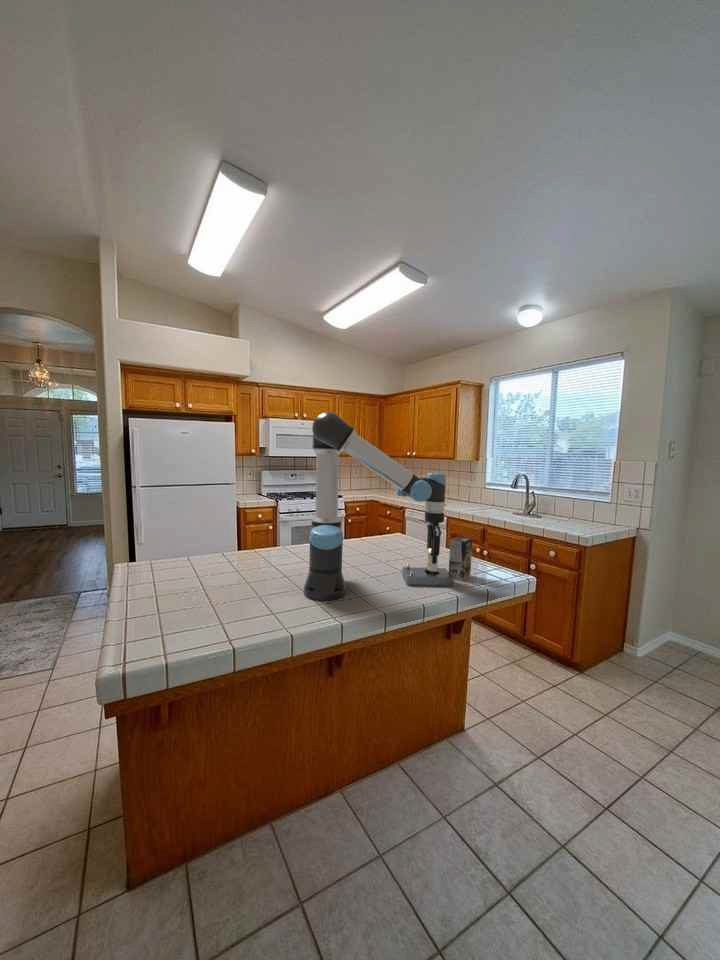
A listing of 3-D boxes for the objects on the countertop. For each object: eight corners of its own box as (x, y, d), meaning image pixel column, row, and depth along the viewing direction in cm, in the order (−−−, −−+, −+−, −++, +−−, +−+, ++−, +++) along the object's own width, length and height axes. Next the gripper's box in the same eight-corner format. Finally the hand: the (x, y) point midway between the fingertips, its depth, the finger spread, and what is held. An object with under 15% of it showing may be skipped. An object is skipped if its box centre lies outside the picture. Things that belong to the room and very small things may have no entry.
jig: (406, 585, 149) (407, 572, 149) (402, 575, 161) (402, 563, 161) (452, 586, 150) (453, 573, 150) (445, 576, 162) (445, 564, 162)
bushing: (438, 577, 154) (439, 550, 153) (428, 577, 153) (429, 549, 153) (435, 574, 158) (436, 547, 157) (425, 574, 157) (427, 547, 157)
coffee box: (462, 581, 156) (464, 542, 155) (447, 578, 160) (449, 539, 159) (471, 576, 163) (473, 538, 162) (456, 572, 167) (458, 536, 166)
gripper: (449, 515, 145) (446, 576, 147) (439, 508, 162) (436, 563, 164) (429, 514, 145) (427, 575, 147) (421, 508, 162) (418, 563, 164)
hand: (432, 569), depth 155 cm, fingers closed on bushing, 4 cm apart
